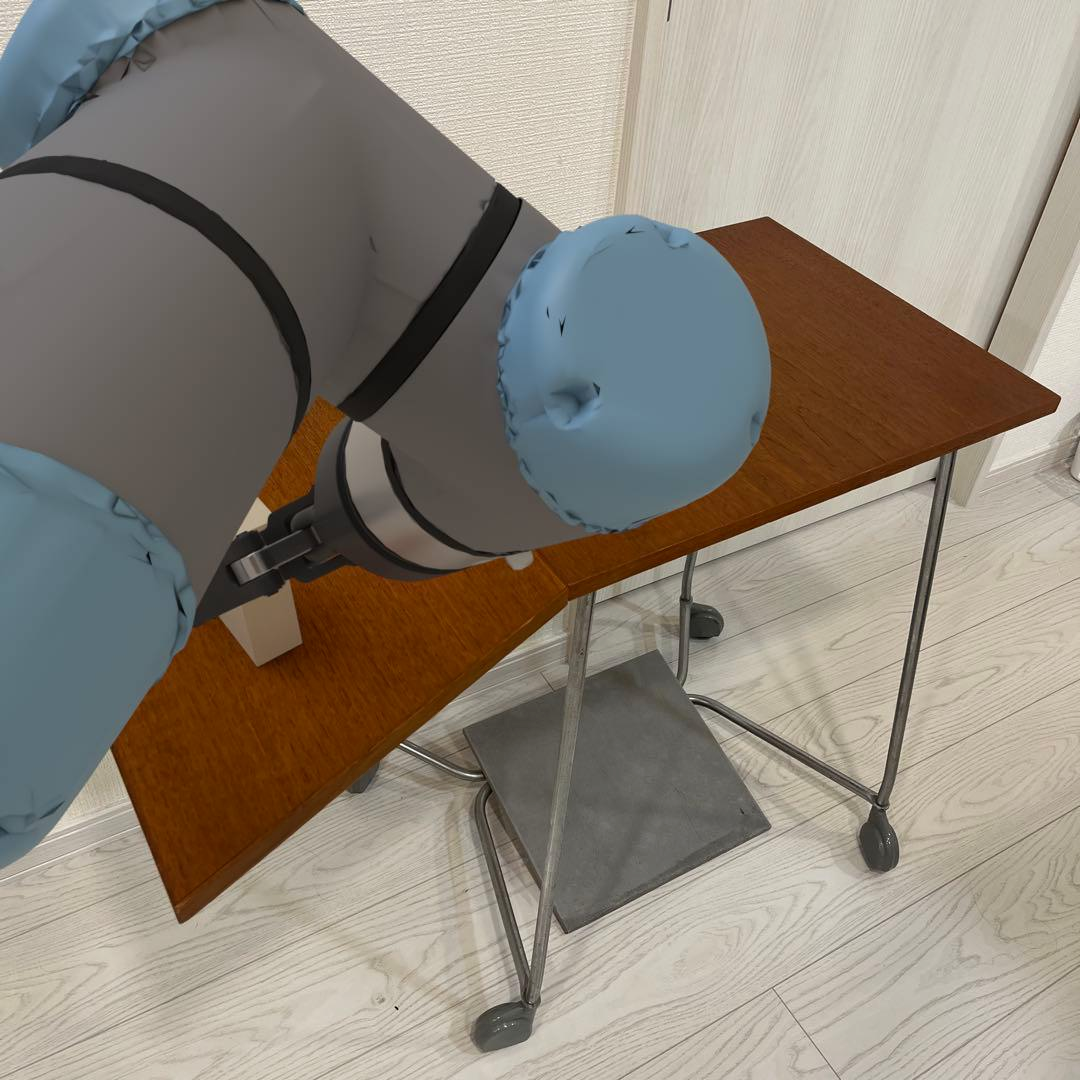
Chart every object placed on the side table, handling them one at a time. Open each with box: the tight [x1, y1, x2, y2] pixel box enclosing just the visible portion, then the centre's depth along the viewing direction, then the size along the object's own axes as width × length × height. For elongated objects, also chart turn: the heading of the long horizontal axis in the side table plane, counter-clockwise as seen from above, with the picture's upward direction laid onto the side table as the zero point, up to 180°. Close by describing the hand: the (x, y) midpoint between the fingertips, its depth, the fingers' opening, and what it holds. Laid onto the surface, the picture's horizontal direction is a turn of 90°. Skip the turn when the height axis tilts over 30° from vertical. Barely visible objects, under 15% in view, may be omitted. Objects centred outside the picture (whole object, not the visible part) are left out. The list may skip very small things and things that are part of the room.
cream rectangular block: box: [218, 496, 303, 667], centre depth 68 cm, size 4×8×12 cm, turn 39°
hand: (294, 547), depth 56 cm, fingers open, 13 cm apart
